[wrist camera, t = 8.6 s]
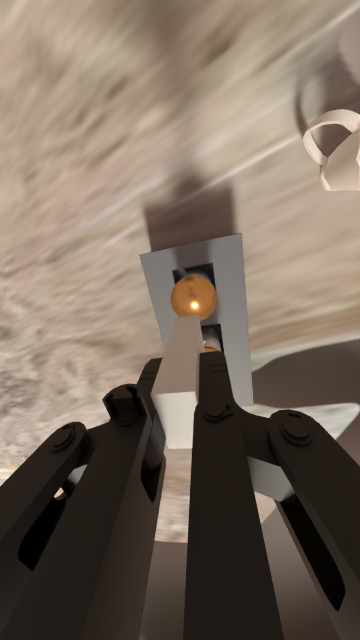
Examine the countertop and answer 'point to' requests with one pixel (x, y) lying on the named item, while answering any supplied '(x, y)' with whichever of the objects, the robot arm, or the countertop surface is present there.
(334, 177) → the cup
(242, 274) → the panel
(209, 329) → the knob mid
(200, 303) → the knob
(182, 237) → the countertop surface
